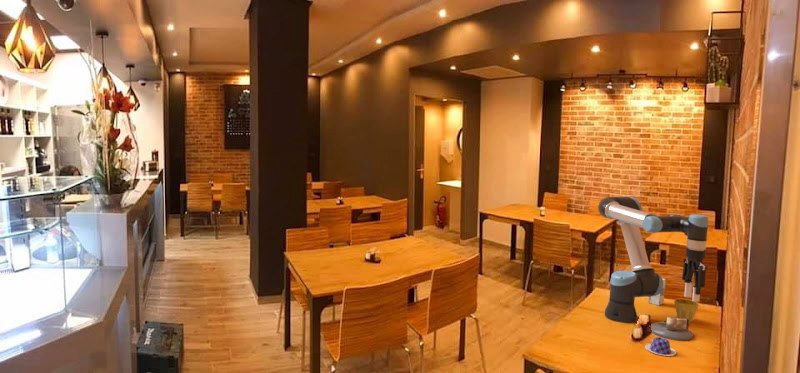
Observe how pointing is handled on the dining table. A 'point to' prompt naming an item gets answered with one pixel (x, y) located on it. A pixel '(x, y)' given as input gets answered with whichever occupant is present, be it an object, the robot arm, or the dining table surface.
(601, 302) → the dining table surface
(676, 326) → the tuning peg
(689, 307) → the plant pot
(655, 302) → the syrup box
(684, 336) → the flat grey disc
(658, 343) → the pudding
